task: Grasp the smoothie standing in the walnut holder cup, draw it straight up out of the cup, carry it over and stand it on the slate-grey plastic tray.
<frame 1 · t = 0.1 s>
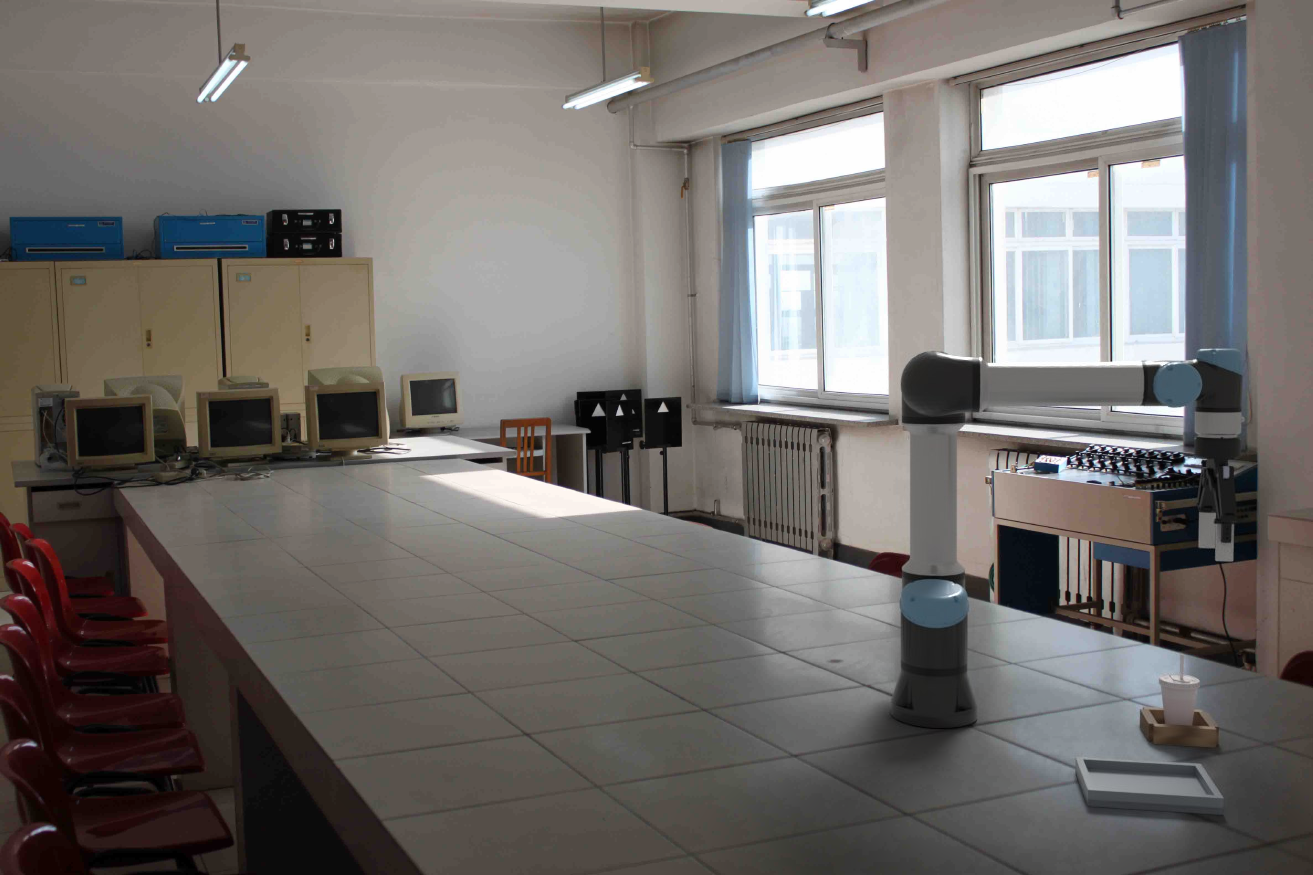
hand: (1215, 554, 213), 28 cm above the worktop, fingers open, 13 cm apart
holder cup: (1178, 735, 201), on the worktop
smoothie: (1178, 736, 201), resting in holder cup
tray: (1145, 792, 176), on the worktop
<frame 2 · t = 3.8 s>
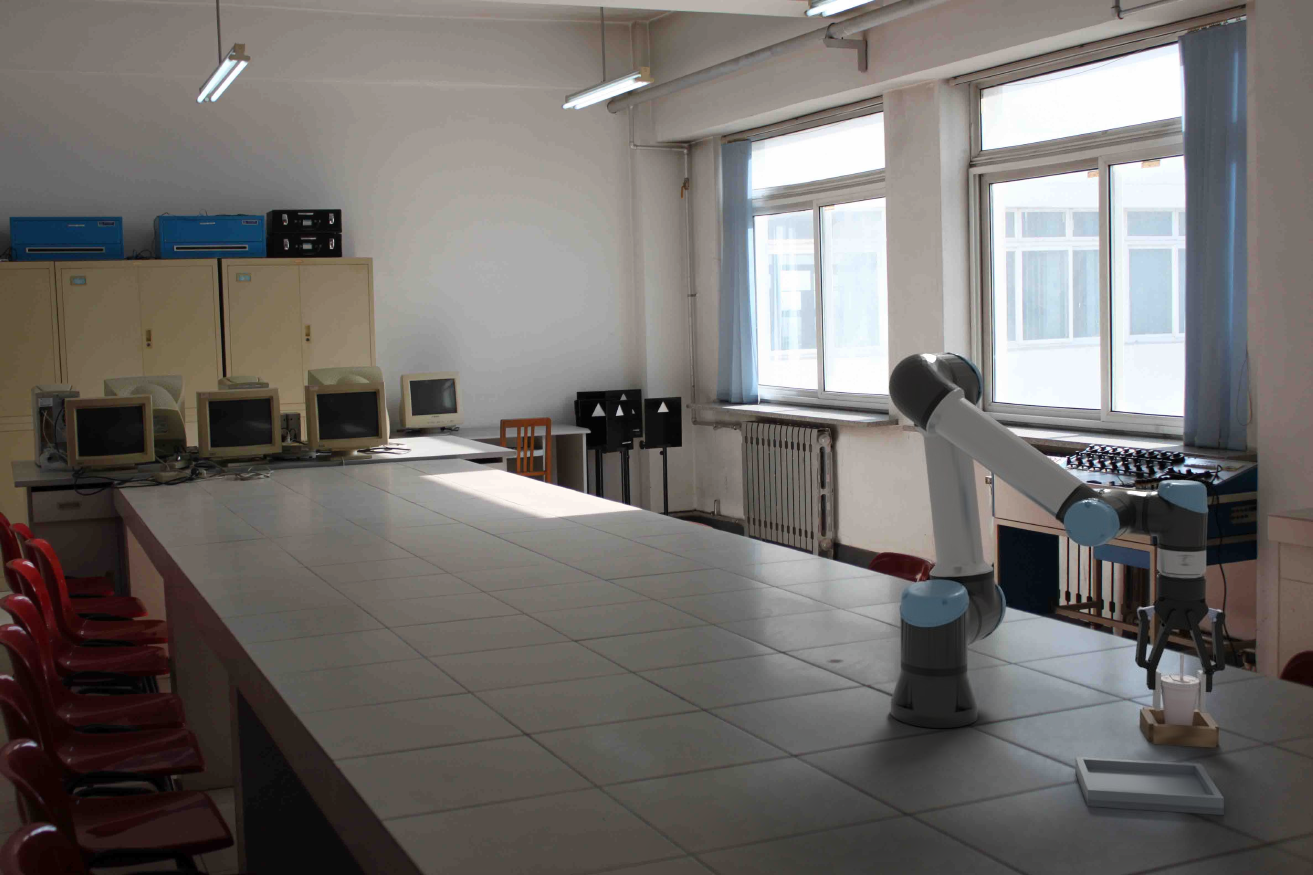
hand: (1178, 709, 200), 4 cm above the worktop, fingers closed on smoothie, 6 cm apart
smoothie: (1178, 736, 201), resting in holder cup, touching gripper
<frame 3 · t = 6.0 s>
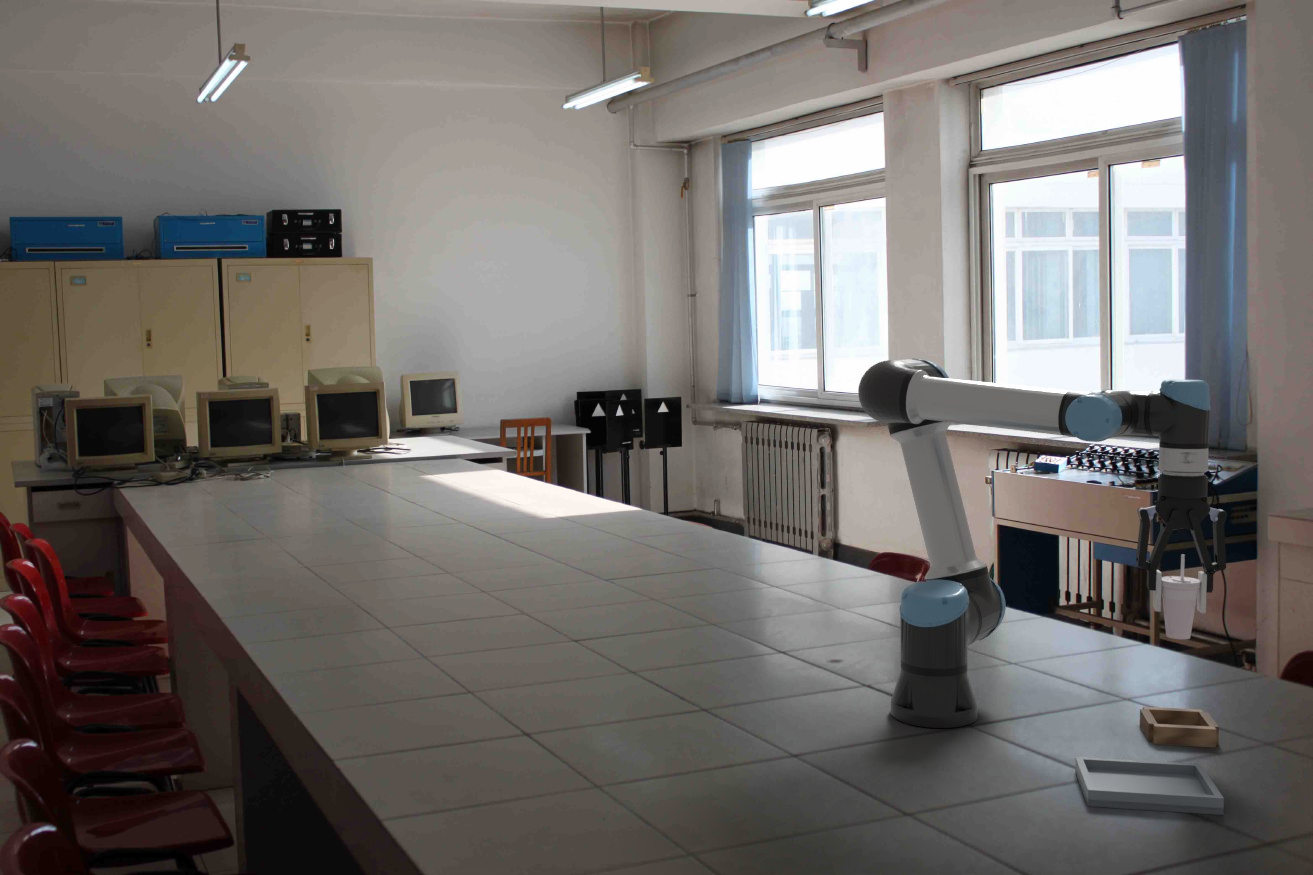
hand: (1178, 610, 199), 21 cm above the worktop, fingers closed on smoothie, 6 cm apart
smoothie: (1178, 637, 200), point 17 cm above the worktop, touching gripper
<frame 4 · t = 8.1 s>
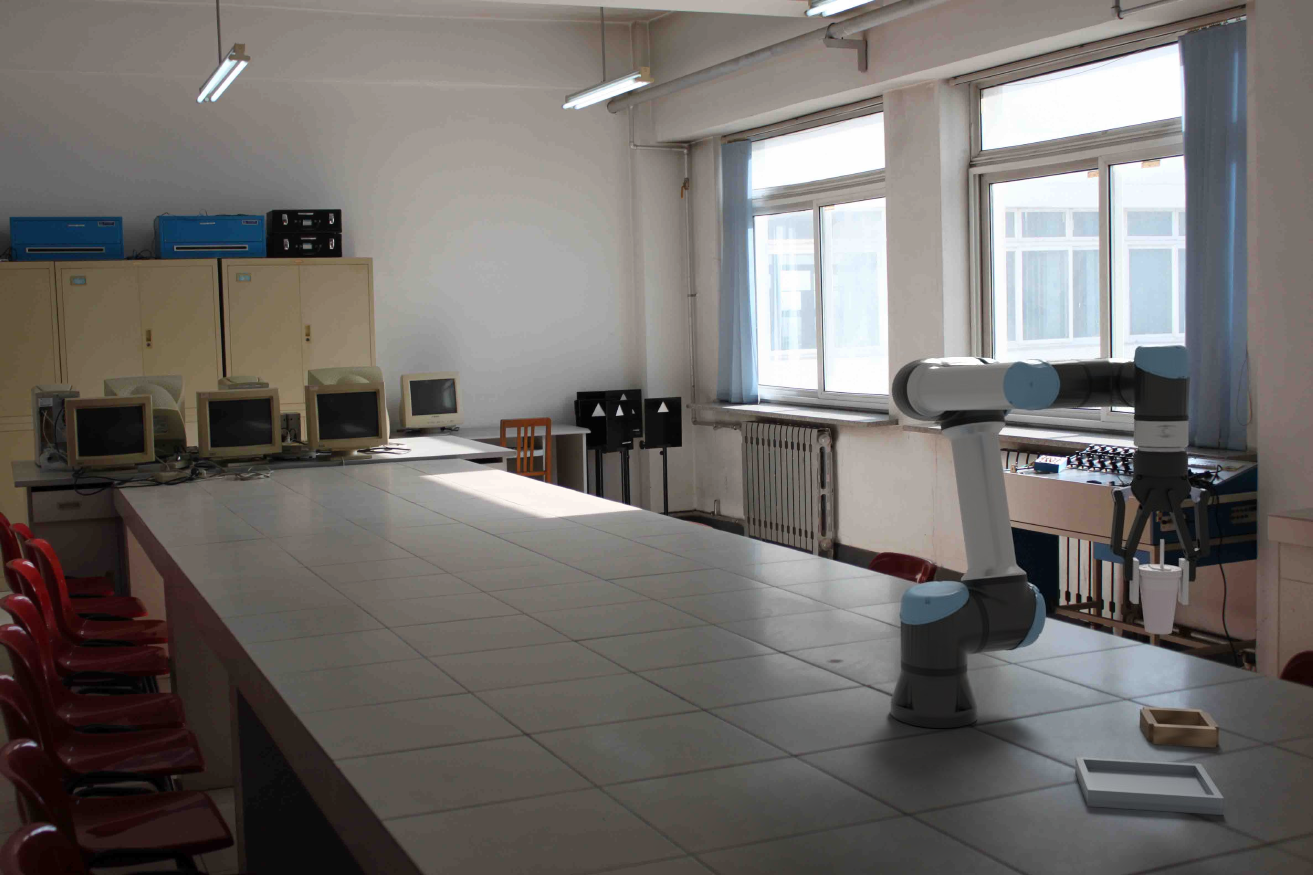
hand: (1158, 602, 179), 27 cm above the worktop, fingers closed on smoothie, 6 cm apart
smoothie: (1158, 632, 179), point 22 cm above the worktop, touching gripper
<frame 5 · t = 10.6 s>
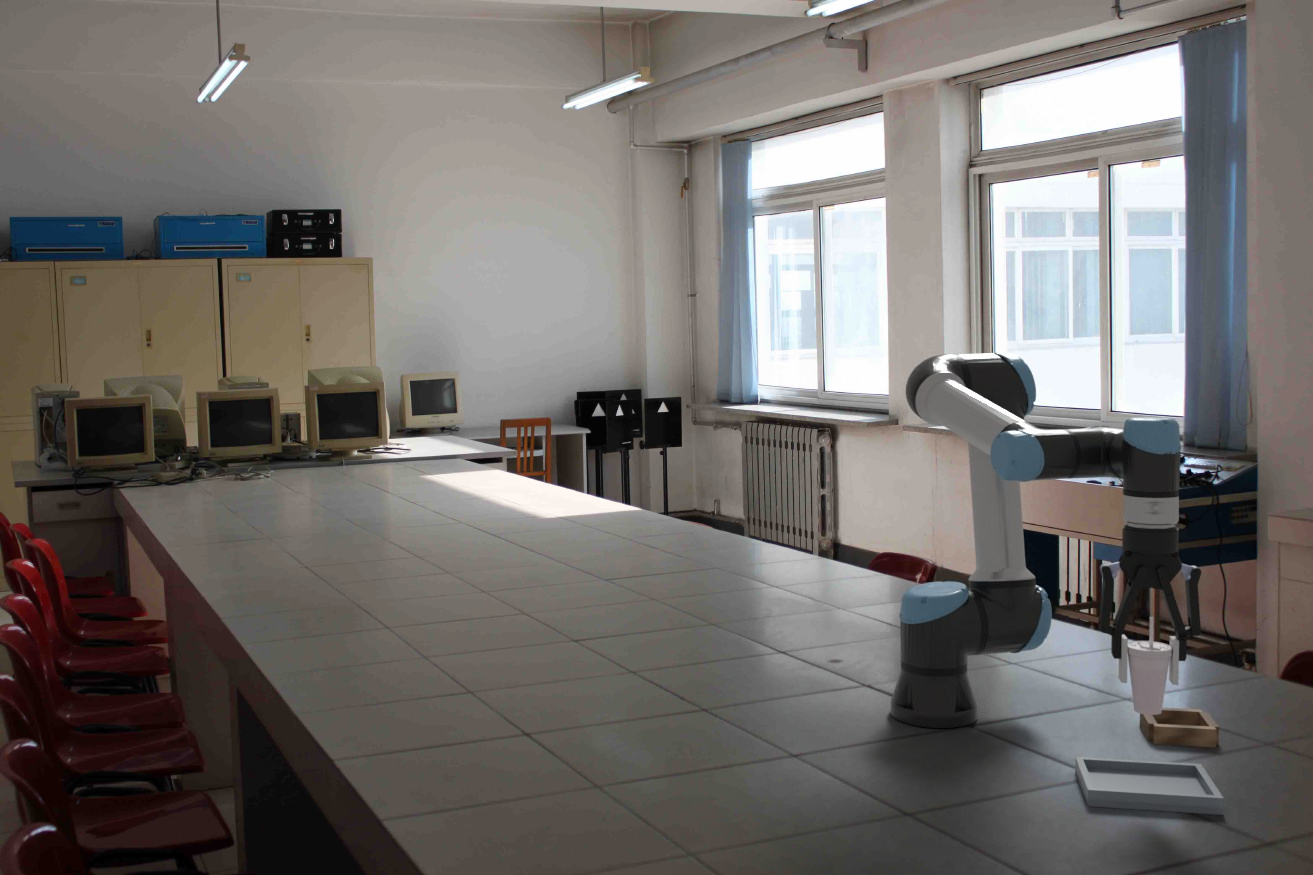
hand: (1148, 680, 174), 17 cm above the worktop, fingers closed on smoothie, 6 cm apart
smoothie: (1147, 712, 174), point 12 cm above the worktop, touching gripper
when the fingers open (7 cm above the worktop, at t = 12.8 s): smoothie drops 1 cm, resting on tray.
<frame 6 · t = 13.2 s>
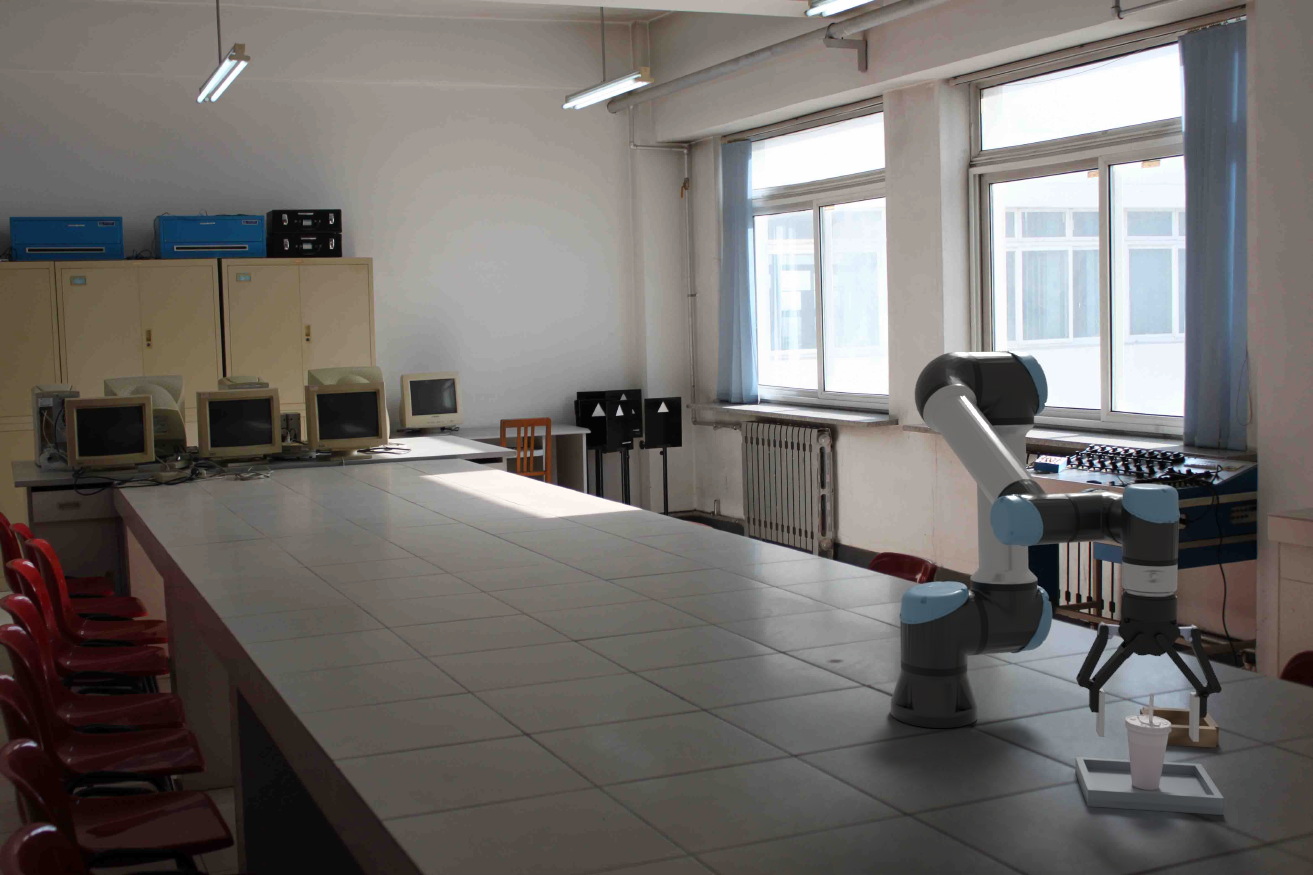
hand: (1146, 736, 175), 8 cm above the worktop, fingers open, 12 cm apart
smoothie: (1145, 786, 175), point 1 cm above the worktop, touching tray
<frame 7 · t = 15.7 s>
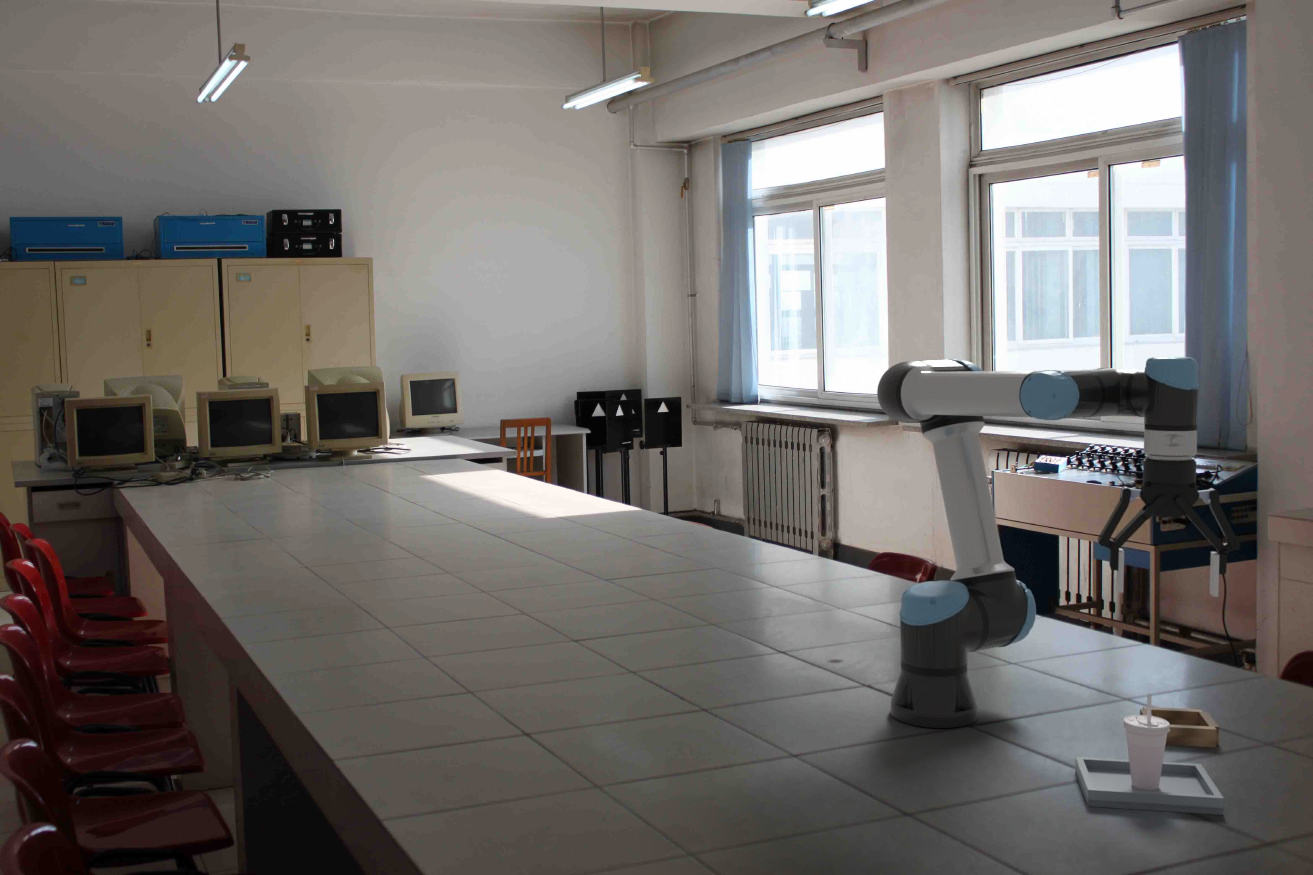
hand: (1166, 593, 186), 27 cm above the worktop, fingers open, 13 cm apart
nothing on the worktop moved.
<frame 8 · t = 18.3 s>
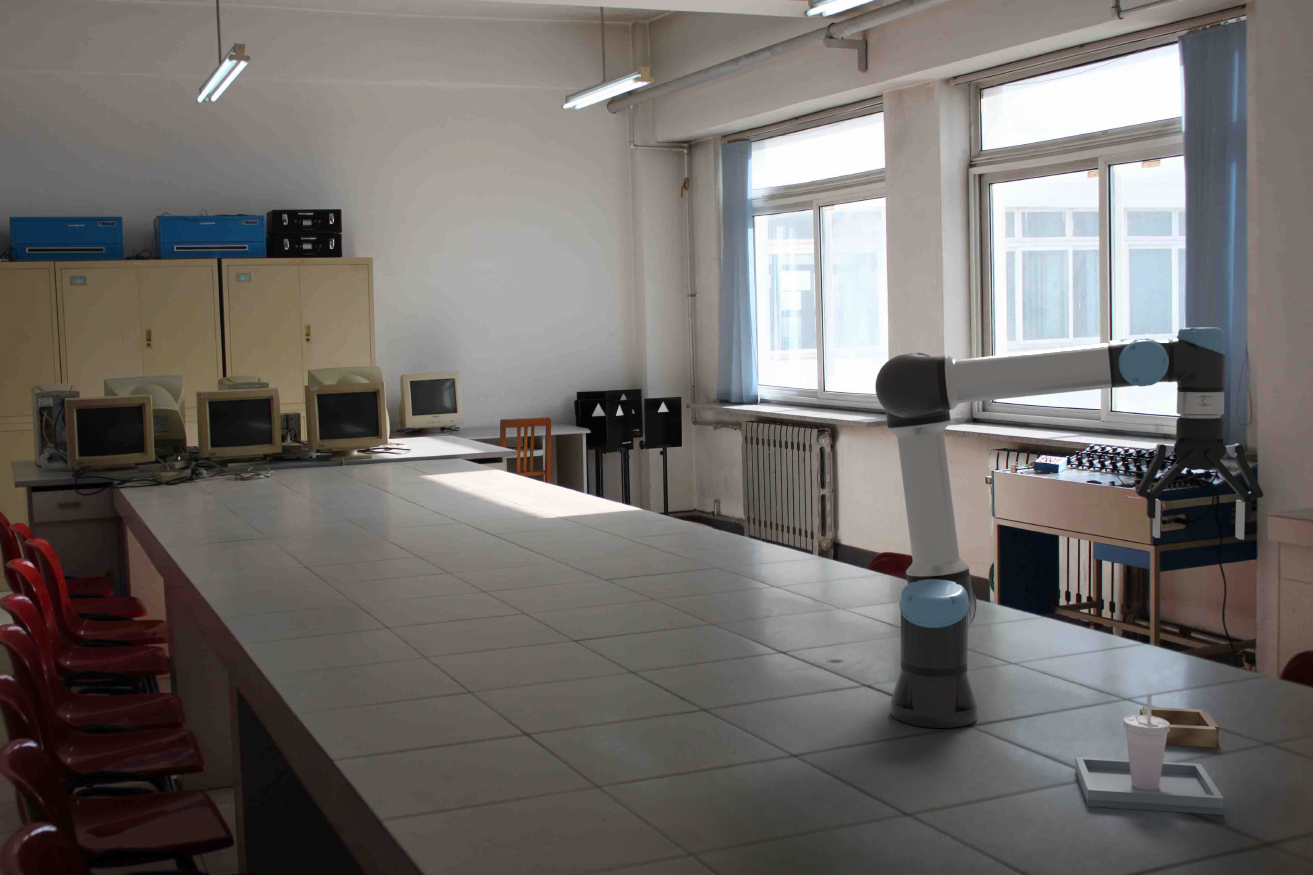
hand: (1197, 537, 209), 32 cm above the worktop, fingers open, 13 cm apart
nothing on the worktop moved.
at the end: smoothie inside the target area on the tray (0.1 cm from its centre), point 0.8 cm above the tray's base; smoothie tilted 0°; the gripper is holding nothing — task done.
